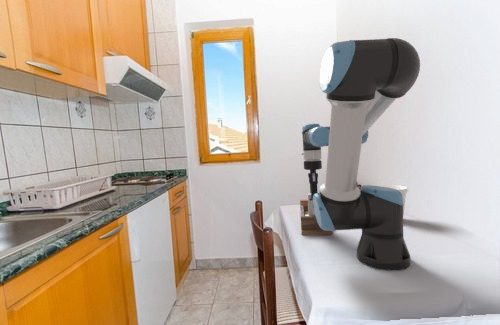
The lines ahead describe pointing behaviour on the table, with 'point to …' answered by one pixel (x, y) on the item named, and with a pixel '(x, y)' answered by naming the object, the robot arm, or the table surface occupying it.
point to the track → (310, 222)
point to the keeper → (309, 205)
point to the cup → (399, 188)
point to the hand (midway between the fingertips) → (314, 213)
